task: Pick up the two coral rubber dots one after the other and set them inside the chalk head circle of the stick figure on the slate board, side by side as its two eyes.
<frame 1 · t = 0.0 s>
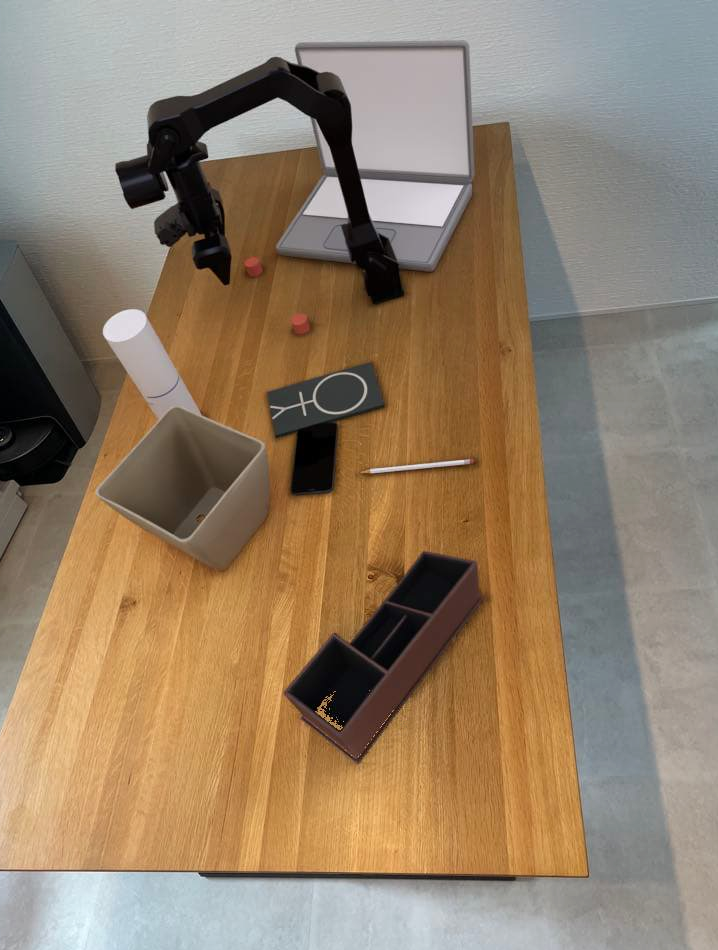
hand: (224, 269, 125), 15 cm above the table, tool pointing down, fingers open, 9 cm apart
pencil: (416, 468, 112), on the table
smartphone: (315, 460, 117), on the table
board: (324, 400, 123), on the table
dot 2: (302, 328, 135), on the table
flower pot: (220, 529, 113), on the table
dot 1: (255, 271, 147), on the table
cylindrical container: (188, 430, 126), on the table
desk organizer: (395, 658, 96), on the table
laptop: (376, 224, 148), on the table
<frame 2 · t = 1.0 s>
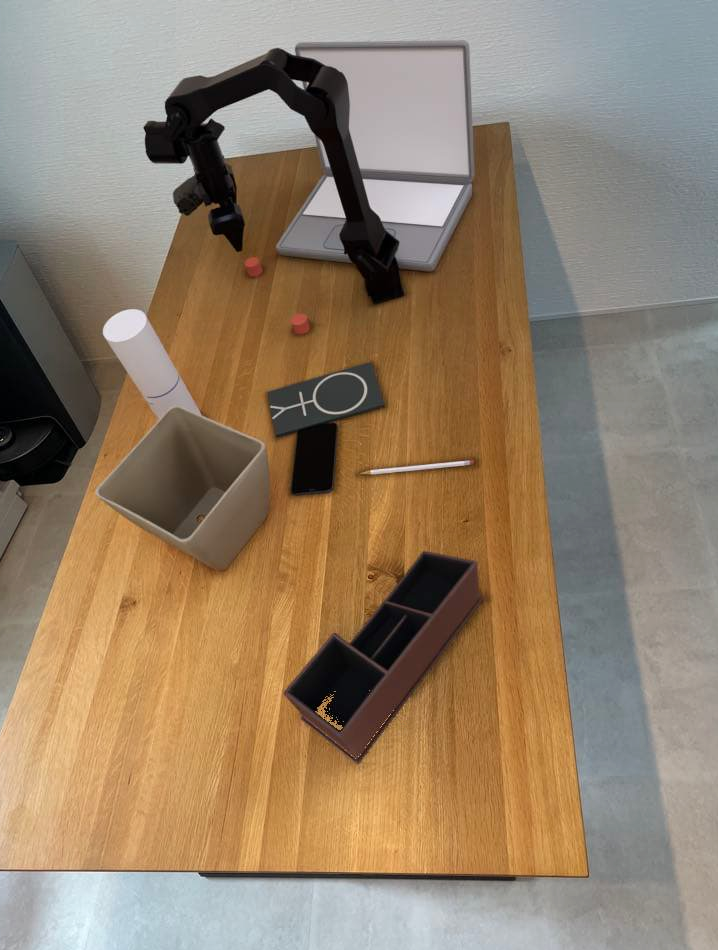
hand: (236, 237, 136), 11 cm above the table, tool pointing down, fingers open, 9 cm apart
nothing on the table moved.
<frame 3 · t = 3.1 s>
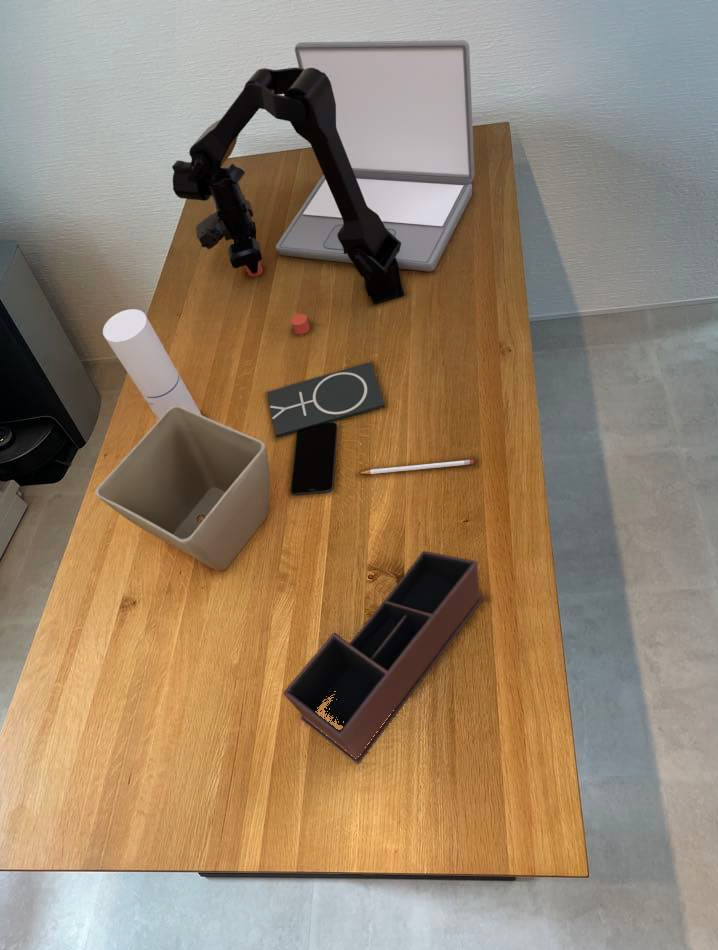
hand: (253, 267, 146), 1 cm above the table, tool pointing down, fingers closed on dot 1, 3 cm apart
dot 1: (255, 271, 147), on the table, touching gripper
everything else where it was.
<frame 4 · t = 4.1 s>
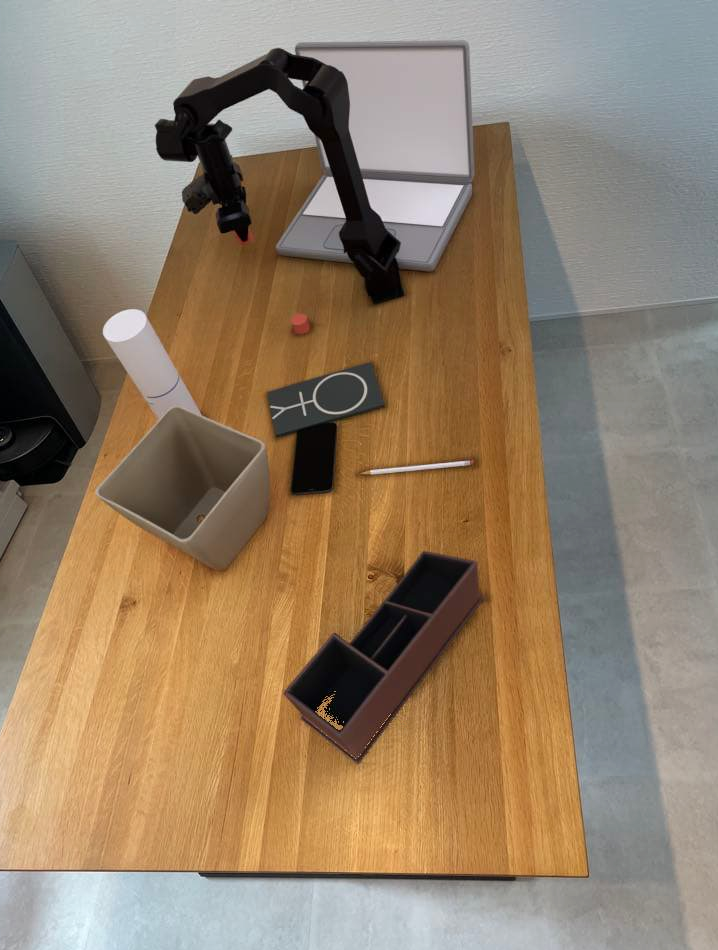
hand: (244, 235, 138), 9 cm above the table, tool pointing down, fingers closed on dot 1, 3 cm apart
dot 1: (245, 240, 139), point 8 cm above the table, touching gripper
everything else where it was.
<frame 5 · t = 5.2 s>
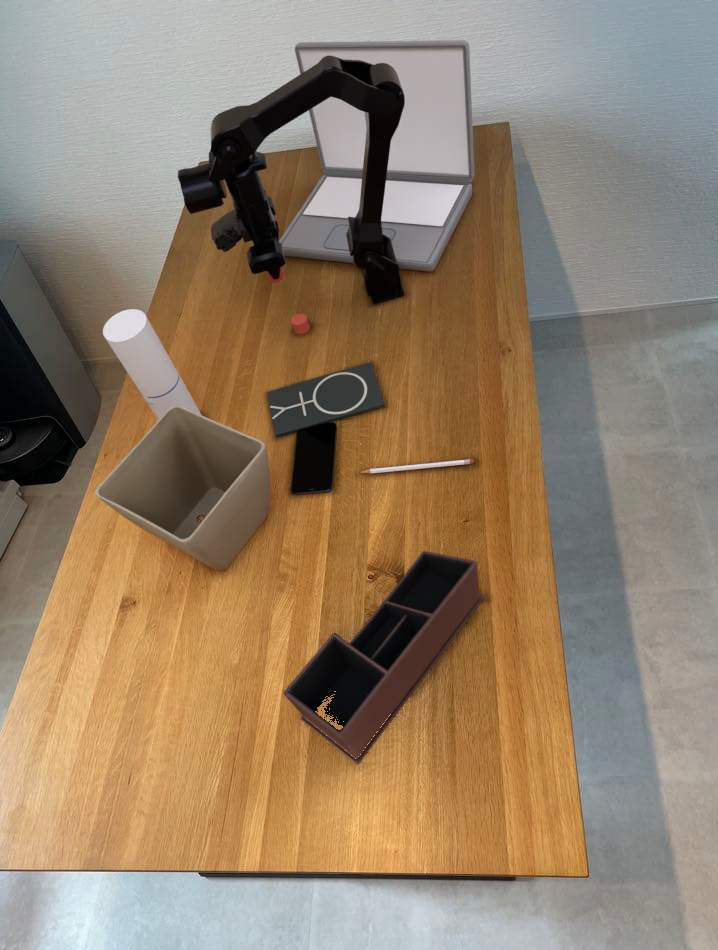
hand: (275, 272, 129), 10 cm above the table, tool pointing down, fingers closed on dot 1, 3 cm apart
dot 1: (276, 277, 130), point 9 cm above the table, touching gripper
everything else where it was.
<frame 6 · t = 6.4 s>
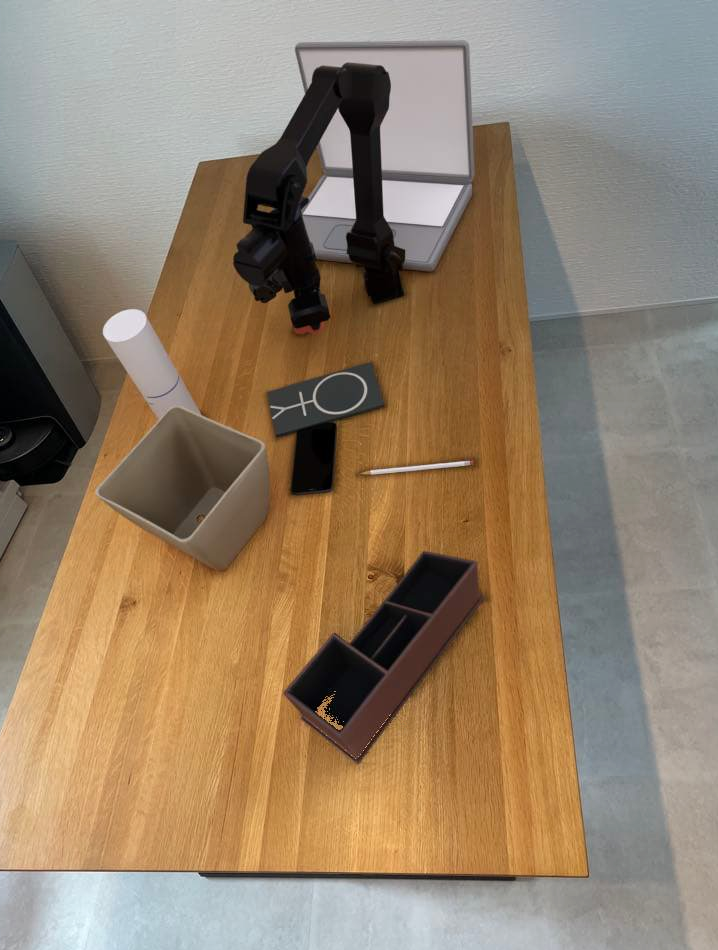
hand: (314, 322, 119), 10 cm above the table, tool pointing down, fingers closed on dot 1, 3 cm apart
dot 1: (315, 327, 120), point 9 cm above the table, touching gripper
everything else where it was.
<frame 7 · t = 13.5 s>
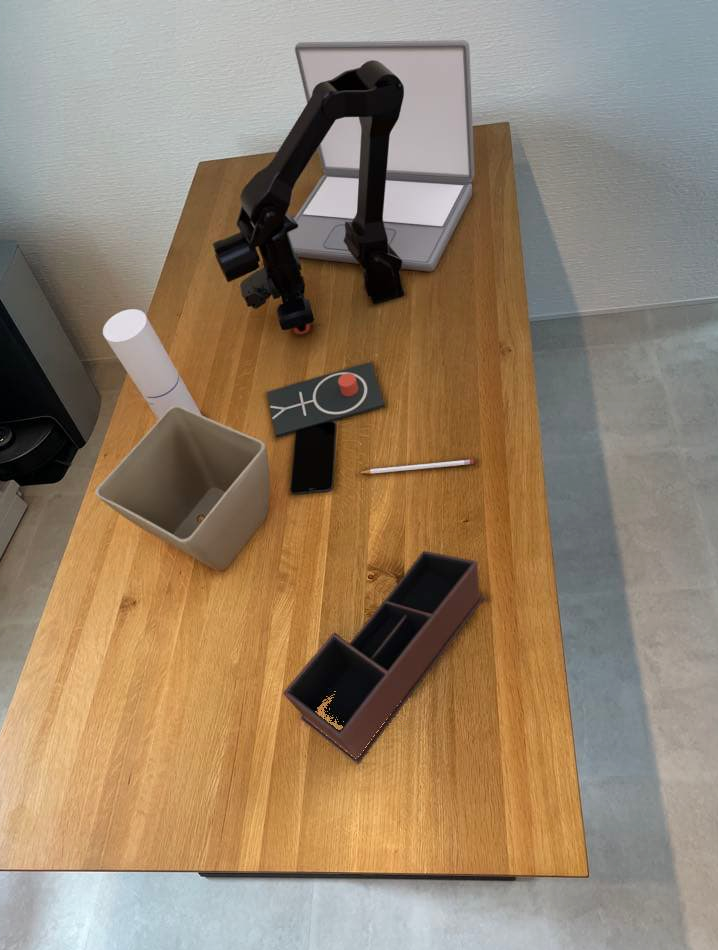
hand: (301, 324, 134), 1 cm above the table, tool pointing down, fingers closed on dot 2, 3 cm apart
dot 2: (302, 328, 135), on the table, touching gripper
dot 1: (349, 389, 122), point 1 cm above the table, touching board
everything else where it was.
when the fingers open (2 cm above the table, at t = 18.3 s): dot 2 stays where it is, resting on board.
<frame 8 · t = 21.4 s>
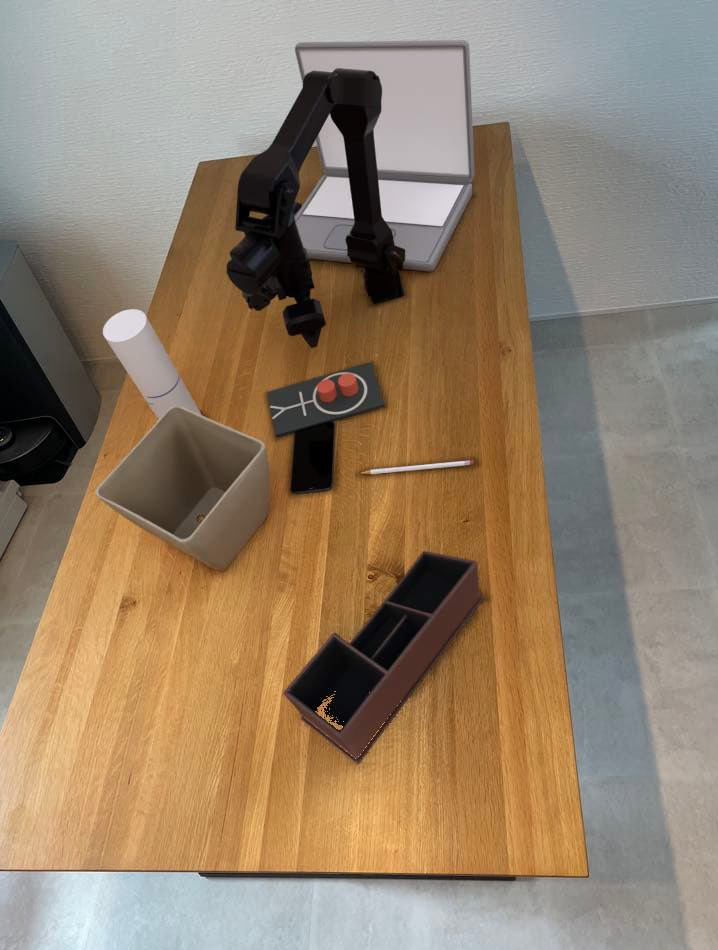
hand: (309, 329, 118), 11 cm above the table, tool pointing down, fingers open, 9 cm apart
dot 2: (328, 395, 123), point 1 cm above the table, touching board
everything else where it was.
at the end: dot 1 inside the target area on the board (1.9 cm from its centre), point 0.9 cm above the board's base; dot 2 inside the target area on the board (2.1 cm from its centre), point 0.9 cm above the board's base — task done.
